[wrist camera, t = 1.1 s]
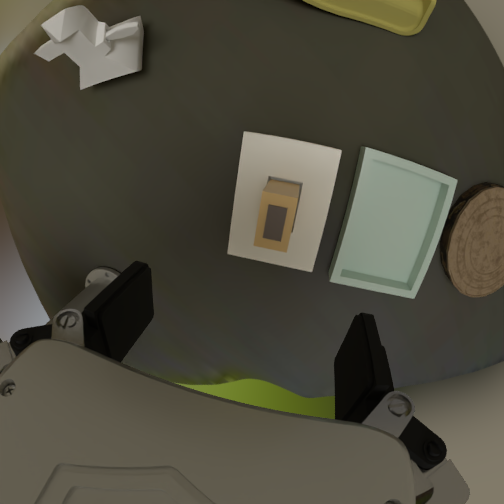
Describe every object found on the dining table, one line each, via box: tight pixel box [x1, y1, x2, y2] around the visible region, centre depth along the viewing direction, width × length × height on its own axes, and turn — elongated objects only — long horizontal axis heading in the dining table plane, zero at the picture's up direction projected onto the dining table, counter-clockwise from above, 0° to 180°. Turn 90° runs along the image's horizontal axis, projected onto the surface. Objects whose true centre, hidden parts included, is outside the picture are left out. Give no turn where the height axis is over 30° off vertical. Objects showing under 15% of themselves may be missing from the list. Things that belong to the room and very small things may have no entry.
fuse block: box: [227, 131, 342, 272], centre depth 30 cm, size 14×10×3 cm
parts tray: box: [329, 146, 457, 299], centre depth 29 cm, size 16×12×2 cm
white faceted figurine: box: [35, 5, 144, 90], centre depth 20 cm, size 8×14×14 cm, turn 90°
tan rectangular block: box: [253, 179, 299, 253], centre depth 27 cm, size 5×3×8 cm, turn 172°
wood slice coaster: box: [440, 182, 504, 297], centre depth 26 cm, size 16×16×3 cm
